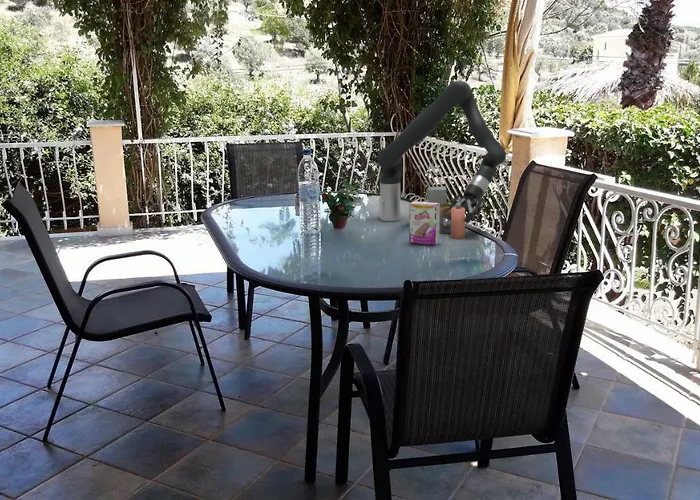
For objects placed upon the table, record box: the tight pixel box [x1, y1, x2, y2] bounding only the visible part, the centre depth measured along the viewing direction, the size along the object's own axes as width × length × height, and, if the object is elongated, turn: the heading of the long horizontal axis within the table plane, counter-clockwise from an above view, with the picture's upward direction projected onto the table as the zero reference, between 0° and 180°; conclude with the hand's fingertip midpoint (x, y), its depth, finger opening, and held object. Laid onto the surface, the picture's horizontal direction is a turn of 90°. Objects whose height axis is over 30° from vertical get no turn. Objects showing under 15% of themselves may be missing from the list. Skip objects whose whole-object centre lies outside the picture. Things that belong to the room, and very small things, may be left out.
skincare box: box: [427, 185, 448, 203], centre depth 291 cm, size 8×7×16 cm
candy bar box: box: [408, 200, 440, 247], centre depth 257 cm, size 11×5×16 cm, turn 65°
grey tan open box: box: [439, 202, 454, 234], centre depth 278 cm, size 11×16×10 cm
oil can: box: [450, 203, 466, 240], centre depth 265 cm, size 6×6×14 cm
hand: (457, 220), depth 265 cm, fingers open, 8 cm apart
